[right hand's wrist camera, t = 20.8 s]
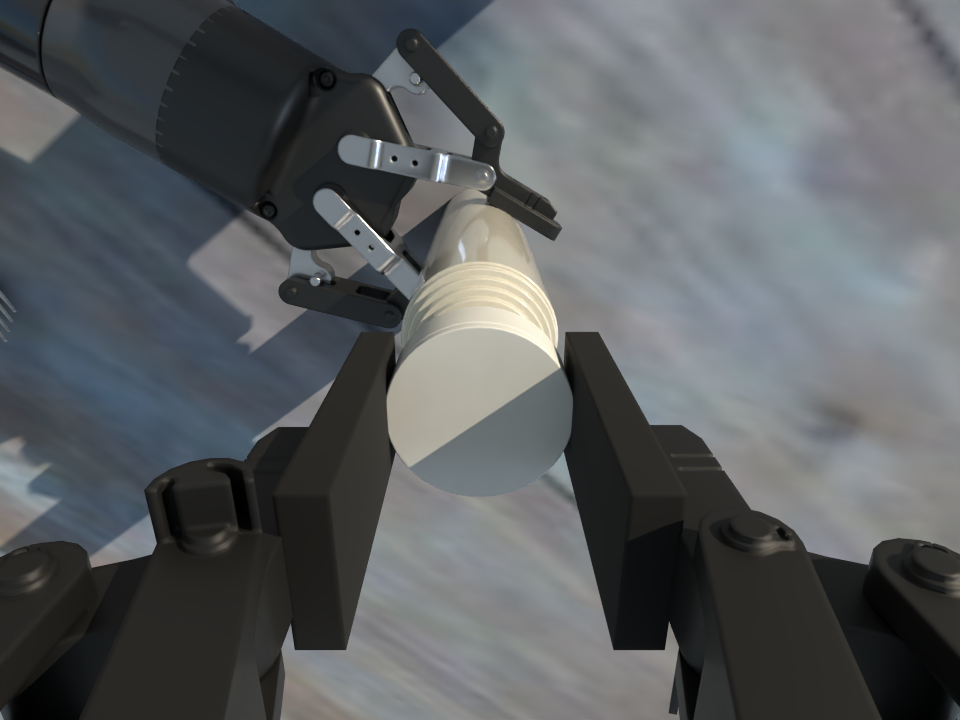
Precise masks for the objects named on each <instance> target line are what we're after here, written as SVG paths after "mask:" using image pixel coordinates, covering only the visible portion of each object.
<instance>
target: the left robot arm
mask: <svg viewBox="0 0 960 720" xmlns="http://www.w3.org/2000/svg"><path fill="white" fill-rule="evenodd" d="M0 68H2V69H4V70H5V71H7V72H9V73H11V74H13V75H14V76H16V77H18V78H20V79H22V80H23V81H25V82H27V83H29V84H31V85H33V86H34V87H36V88H38V89H40V90H42V91H43V92H45V93H47V94H49V95H51V96H53V97H54V98H56V99H58V100H60V101H61V102H63V103H65V104H66V105H68V106H70V107H71V108H73V109H74V110H76V111H77V112H79V113H80V114H82V115H83V116H84V117H86V118H87V119H88V120H90V121H91V122H93V123H94V124H95V125H97V126H98V127H100V128H101V129H102V130H104V131H105V132H107V133H109V134H110V135H112V136H114V137H115V138H117V139H119V140H120V141H122V142H124V143H126V144H128V145H130V146H131V147H133V148H135V149H137V150H139V151H140V152H142V153H144V154H146V155H148V156H150V157H151V158H153V159H155V160H157V161H159V162H161V163H162V164H164V165H166V166H168V167H170V168H171V169H173V170H175V171H177V172H179V173H181V174H182V175H184V176H186V177H188V178H190V179H192V180H194V181H195V182H197V183H199V184H201V185H203V186H205V187H206V188H208V189H210V190H212V191H214V192H215V193H217V194H219V195H221V196H223V197H225V198H226V199H228V200H230V201H232V202H234V203H235V204H237V205H239V206H241V207H243V208H245V209H246V210H248V211H250V212H252V213H254V214H256V215H258V216H260V217H262V218H264V219H266V220H267V221H269V222H270V223H272V224H273V225H274V226H275V227H276V228H277V229H278V230H279V231H280V232H281V234H282V235H283V237H284V238H285V240H286V241H287V242H288V243H289V244H290V245H292V252H291V259H290V265H289V272H288V278H287V279H286V280H285V281H284V282H283V283H282V284H281V285H280V287H279V296H280V298H281V299H282V300H283V301H284V302H285V303H287V304H290V305H294V306H298V307H302V308H307V309H311V310H315V311H319V312H323V313H327V314H331V315H335V316H339V317H344V318H348V319H352V320H356V321H360V322H364V323H368V324H372V325H376V326H381V327H385V328H394V327H396V326H397V325H398V324H399V323H400V321H401V320H402V319H403V317H404V314H405V311H406V308H407V306H408V303H409V300H410V298H411V295H412V293H413V290H414V287H415V285H416V282H417V280H418V277H419V274H420V272H421V269H422V267H423V263H422V262H421V261H420V260H419V259H418V258H417V257H416V256H415V255H414V254H413V253H412V251H411V250H410V249H409V248H408V246H407V244H406V243H405V241H404V240H403V239H402V238H401V237H400V235H399V234H398V233H397V232H396V231H395V230H394V229H393V228H392V226H393V224H394V222H395V220H396V218H397V216H398V212H399V208H400V203H401V200H402V198H403V197H404V196H405V195H406V194H407V193H408V192H409V191H410V190H411V189H412V188H413V186H414V184H415V182H416V180H417V178H419V179H423V180H428V181H433V182H440V183H447V184H452V185H457V186H461V187H466V188H470V189H475V190H478V191H480V192H481V193H483V194H485V195H486V197H487V202H488V203H490V204H492V205H493V206H495V207H497V208H498V209H500V210H502V211H504V212H506V213H507V214H509V215H510V216H512V217H514V218H515V219H517V220H519V221H520V222H522V223H524V224H525V225H527V226H529V227H530V228H532V229H534V230H535V231H537V232H539V233H540V234H542V235H544V236H545V237H547V238H549V239H551V240H553V241H555V239H556V237H557V236H558V234H559V233H560V231H561V229H562V227H561V226H560V224H559V223H558V222H556V221H555V220H553V219H554V217H555V215H556V214H557V211H556V210H555V208H554V207H553V205H552V204H551V203H550V202H549V200H548V199H546V198H545V197H543V196H541V195H540V194H538V193H537V192H535V191H533V190H532V189H530V188H528V187H527V186H525V185H523V184H522V183H520V182H519V181H517V180H515V179H514V178H512V177H510V176H509V175H507V174H506V173H504V172H503V171H502V170H501V168H500V166H499V155H500V150H501V144H502V140H503V138H504V133H505V131H504V127H503V125H502V123H501V122H500V121H499V120H498V119H497V118H496V116H495V115H494V114H493V113H492V112H491V111H490V110H489V109H488V108H487V106H486V105H485V104H484V103H483V102H482V101H481V100H480V99H479V98H478V96H477V95H476V94H475V93H474V92H473V91H472V90H471V89H470V88H469V86H468V85H467V84H466V83H465V82H464V81H463V80H462V79H461V77H460V76H459V75H458V74H457V73H456V72H455V71H454V70H453V69H452V67H451V66H450V65H449V64H448V63H447V62H446V61H445V60H444V59H443V57H442V56H441V55H440V54H439V53H438V52H437V51H436V50H435V49H434V47H433V46H432V45H431V44H430V43H429V42H428V41H427V40H426V39H425V37H424V36H423V35H422V34H421V33H420V32H419V31H417V30H415V29H406V30H404V31H402V32H401V33H400V34H399V36H398V38H397V47H396V48H395V49H394V51H393V52H392V53H391V54H390V55H389V56H388V57H387V59H386V60H385V61H384V62H383V63H382V64H381V65H380V67H379V68H378V69H377V70H376V71H375V72H374V74H373V75H372V76H371V75H369V74H364V73H348V72H344V71H343V70H341V69H339V68H337V67H335V66H334V65H332V64H331V63H329V62H327V61H326V60H324V59H322V58H321V57H319V56H317V55H316V54H314V53H313V52H311V51H309V50H308V49H306V48H304V47H303V46H301V45H299V44H298V43H296V42H294V41H293V40H291V39H290V38H288V37H286V36H285V35H283V34H281V33H280V32H278V31H276V30H275V29H273V28H272V27H270V26H268V25H267V24H265V23H263V22H262V21H260V20H258V19H257V18H255V17H254V16H252V15H250V14H248V13H247V12H245V11H244V10H242V9H241V8H239V7H237V6H236V5H235V4H234V3H233V2H232V1H231V0H0ZM396 88H405V89H406V90H408V91H409V92H410V93H412V94H415V95H423V94H425V93H426V92H428V91H429V89H430V88H431V89H432V90H433V91H434V93H435V94H436V95H437V96H438V97H439V98H440V99H441V100H442V101H443V102H444V103H445V104H446V106H447V107H448V108H449V109H450V110H451V111H452V112H453V113H454V114H455V115H456V116H457V118H458V119H459V120H460V121H461V122H462V123H463V124H464V125H465V126H466V127H467V128H468V129H469V131H470V132H471V133H472V134H473V135H474V136H475V142H474V148H473V154H472V157H471V156H466V155H461V154H457V153H453V152H449V151H446V150H442V149H437V148H433V147H428V146H424V145H419V144H415V143H413V141H412V139H411V137H410V135H409V132H408V130H407V128H406V126H405V124H404V121H403V119H402V117H401V115H400V113H399V110H398V108H397V106H396V104H395V102H394V99H393V97H392V95H391V93H390V92H391V91H392V90H394V89H396ZM371 245H373V246H374V248H372V247H371ZM350 246H353V247H354V248H355V249H356V250H357V251H358V252H359V253H360V254H361V255H362V256H363V257H364V258H365V259H366V261H367V262H368V263H369V264H370V265H371V266H372V267H373V268H374V269H375V270H376V271H378V272H379V273H381V274H383V275H385V276H386V277H387V278H388V279H389V280H390V281H391V282H392V283H393V284H394V285H395V286H396V287H397V288H396V289H394V290H393V291H392V290H388V289H384V288H380V287H376V286H372V285H368V284H364V283H360V282H356V281H352V280H348V279H344V278H340V277H336V276H335V272H334V269H333V267H332V266H331V265H330V264H328V263H326V262H323V261H322V260H321V259H320V258H319V257H318V256H317V254H316V250H321V249H330V248H340V247H350Z"/></svg>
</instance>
